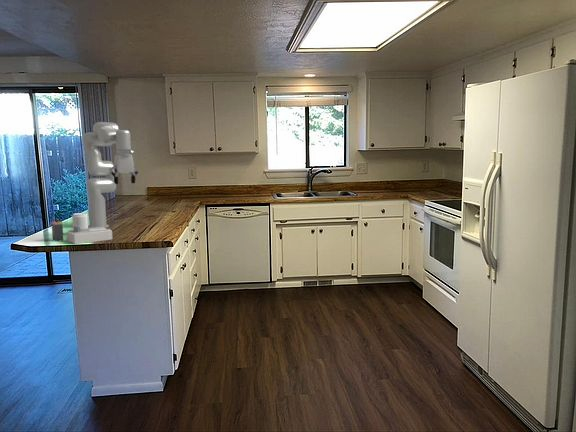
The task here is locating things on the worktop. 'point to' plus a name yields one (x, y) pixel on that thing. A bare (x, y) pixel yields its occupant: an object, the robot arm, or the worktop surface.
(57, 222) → the plug
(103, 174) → the robot arm
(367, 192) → the worktop surface
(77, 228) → the shutter
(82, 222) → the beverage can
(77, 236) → the socket block
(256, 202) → the worktop surface
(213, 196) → the worktop surface
